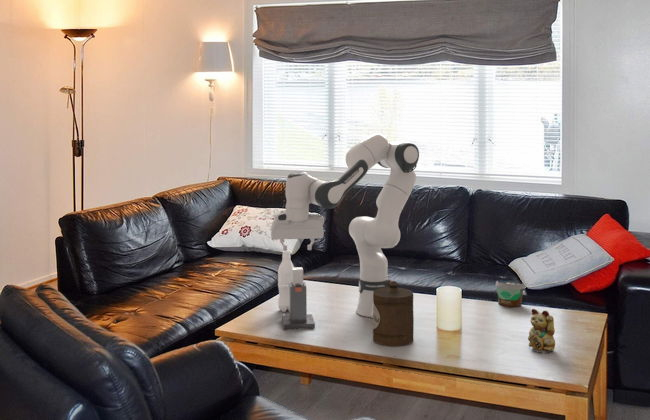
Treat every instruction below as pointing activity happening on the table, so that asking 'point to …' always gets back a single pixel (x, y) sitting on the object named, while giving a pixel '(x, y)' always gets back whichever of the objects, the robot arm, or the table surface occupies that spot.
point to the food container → (510, 294)
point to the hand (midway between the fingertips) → (297, 250)
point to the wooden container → (393, 315)
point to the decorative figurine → (541, 332)
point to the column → (297, 276)
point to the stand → (297, 310)
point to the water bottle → (284, 281)
